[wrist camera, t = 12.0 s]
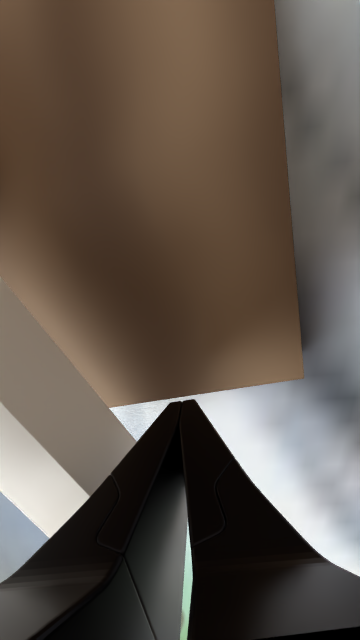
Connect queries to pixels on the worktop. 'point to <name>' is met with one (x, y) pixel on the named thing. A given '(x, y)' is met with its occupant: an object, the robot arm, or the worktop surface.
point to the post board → (149, 192)
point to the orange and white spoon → (49, 423)
